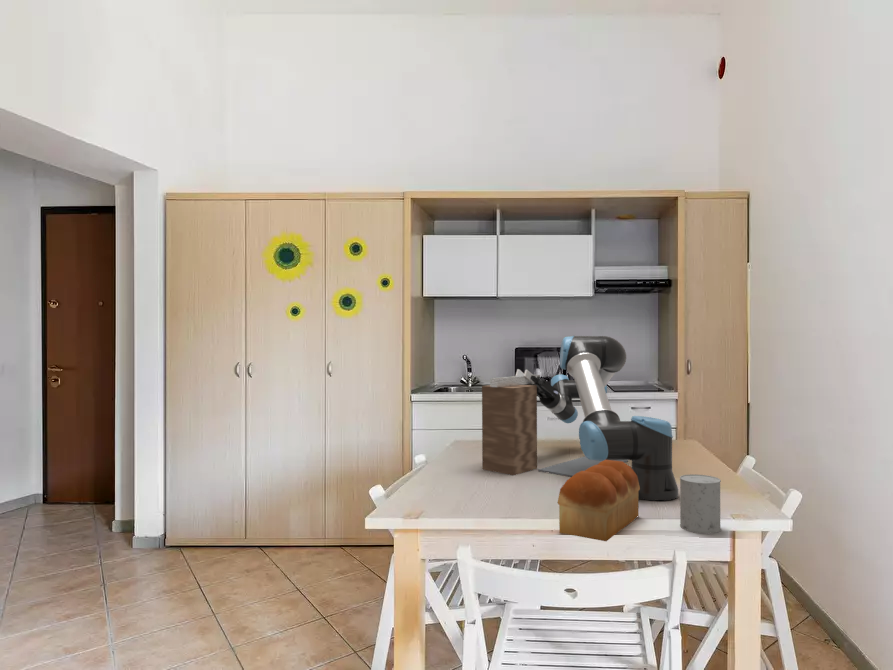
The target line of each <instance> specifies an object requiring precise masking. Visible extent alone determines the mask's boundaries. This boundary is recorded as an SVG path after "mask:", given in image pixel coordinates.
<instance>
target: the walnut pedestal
mask: <svg viewBox="0 0 893 670" xmlns="http://www.w3.org/2000/svg"><path fill="white" fill-rule="evenodd" d="M481 411H482V412H481V420H482V421H481V422H482V425H481V429H482V430H481V438H482V439H481V440H482V441H481V442H482V443H481V447H482V449H481V450H482V451H481V452H482V456H481V457H482V458H481V459H482V461H481V462H482V463H481V464H482V466H481V467H482V468H481V469H483V470H484V471H490V472H493V473H494V472H495V473H500V474H504V475H509V474H510V475H511V476H517V475H520V474H524V473H527V472H531V471H534V470H533V469H535V470H538V396H537V386H535V385H515V386H505V387H490V384H489V385H481ZM530 470H531V471H530ZM523 472H524V473H523ZM516 474H517V475H516Z"/></svg>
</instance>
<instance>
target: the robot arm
mask: <svg viewBox="0 0 893 670" xmlns="http://www.w3.org/2000/svg"><path fill="white" fill-rule="evenodd" d="M626 361H627V353H626V350H625V347H624V346H623V344H622V343H621V342H619V341H618V340H617V339H615V338H613V337H611V336H606V335H602V336H601V335H593V336H592V335H585V336H584V335H571V336H565V337H563V338H562V340H561V344H560V352H559V367H560V369H561V370H567V372H568V374H569V375H570V377H572V378H573V379H574V380H570V379H569V376H568V375H566V374H565V375H564V374H556V375H554V376H553V377H551V379H550V383H549V382H547V381H546V380H545V379H544V378H542V379H541V376H540V377H539V376H537V378H536V377H535V376H534V375H535V374H533V373H532V372H531V371H529V370H528V369H525V370H524V372H523V371H522V370H521V369H519V368H517V369H516V372H515V375H514V376H523V375H524V377H525V378H526V379H527V380H529V381H530V382H531V383H532V384H524V385H535V386H537V398H539V402H540V404H542V405H543V406H544V407H545V408H546V409H548V410H549V411H550V412H551V413H552V414H553V415H554V416H556V417H557V419H559V420H560V421H562V422H563V423H565V424H572V423H573V422H575V421H576V420H577V418H578V415H579V413H578V410H577V408H576V407H575V406H574V404H573V400H575V399H577V400H578V399H579V401H580V403H581V407H582V412H583V416H584V419H583V420H582V422H581V423H580V425H579V428H578V438H579V445H580V448H581V451H582V453H583V455H584V456H586V457H587V458H588V459H590V460H598V461H604V460H628V461H631V468H632V470H633V471H634V472H635V473H636V475H637V477H638V482H639V486H640V490H639V491H638V500H644V499H645V500H646V501H655V500H664V501H671V499H673V500H675V498H676V499H678V498H679V487H678V484H677V481H676V477H675V475H674V472H673V437H674V436H673V432H672V431H673V429H672V428H673V427H672V424H671V423H670V421H668V420H665V419H661V418H656V417H651V416H643V415H633V416H631V418H630V421H629V420H628V421H626V420H624V421H622V420H621V418H620V416H619V415H618V413H617V412H616V411H614V410H612V407H611V404H610V402H609V398H608V396H607V394H608V393H607V392H608V386H607V384H608V383H609V382H610V380H611V379H612V378H613V376H614V375H615V374H616V373H618V372H620V371H621V370H622V369H623V368H624V366H625V364H626ZM677 497H678V498H677Z"/></svg>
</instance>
